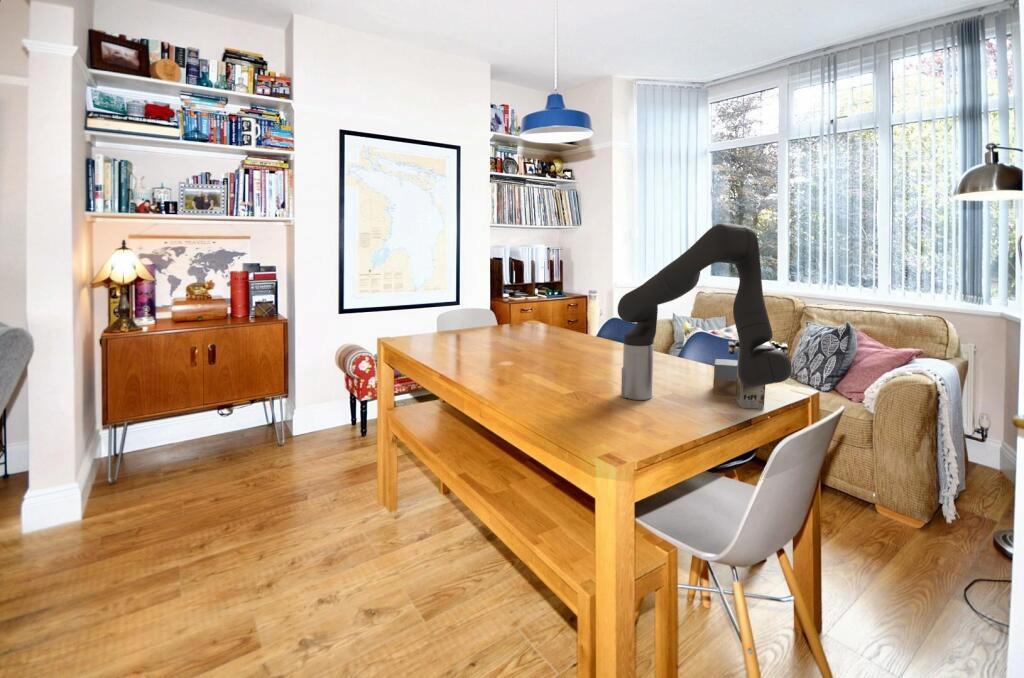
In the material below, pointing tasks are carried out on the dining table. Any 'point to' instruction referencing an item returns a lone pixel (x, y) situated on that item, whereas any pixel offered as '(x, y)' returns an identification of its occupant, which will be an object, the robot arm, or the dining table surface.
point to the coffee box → (749, 394)
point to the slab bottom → (724, 387)
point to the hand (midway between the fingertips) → (755, 343)
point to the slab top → (725, 370)
